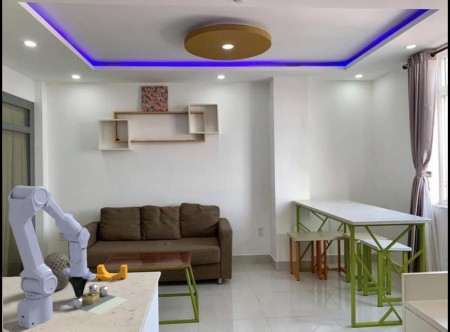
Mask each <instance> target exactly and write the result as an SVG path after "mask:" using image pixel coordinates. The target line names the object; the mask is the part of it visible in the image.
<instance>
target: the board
mask: <svg viewBox="0 0 450 332" xmlns="http://www.w3.org/2000/svg"><path fill="white" fill-rule="evenodd" d="M97 292H98V293H99V291H97ZM81 297H82V306H83V307H82V308H81V309H80V310H81V311H84V312H88V313H91V314H94V315H97V316H101V315H103V314H105V313H106V312H109V311H110V310H112V309H114V308H115V307H118V306H119V305H122V304H123V303H125V302H127V301H128V299H127V298H122V297H119V296H115V295H111V294H109V293H107V296H106V297H100V296H99V302H97V303H95V304H86V305H84V302H83V296H81ZM64 305H65V306H68V307H72V308H74V303H73V299H72V300H69V301H67V302H64Z"/></svg>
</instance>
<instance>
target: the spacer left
mask: <svg viewBox="0 0 450 332" xmlns="http://www.w3.org/2000/svg"><path fill="white" fill-rule="evenodd" d="M72 300H73V303H74V307H73V310H81V308H82V307H83V306H82V297H74V298H73V299H72Z"/></svg>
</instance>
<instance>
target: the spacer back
mask: <svg viewBox="0 0 450 332" xmlns="http://www.w3.org/2000/svg"><path fill="white" fill-rule="evenodd" d="M88 292H98V285H97V283H96V284H93V283H92V284H90V285H88Z"/></svg>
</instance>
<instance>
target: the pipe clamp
mask: <svg viewBox="0 0 450 332" xmlns="http://www.w3.org/2000/svg"><path fill="white" fill-rule="evenodd" d="M96 272H97V273H96V274H95V281H96V282H97V281H99V280H100V281H103V282H106V281H110V282H111V281H112V280H121V279H122V278H123V280H126V279H127V278H128V264H121V266H120V270H119V271H118V272H117V273H110V272H108V271H107V269H106V268H105V265H104V264H98V265H97V266H96Z"/></svg>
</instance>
